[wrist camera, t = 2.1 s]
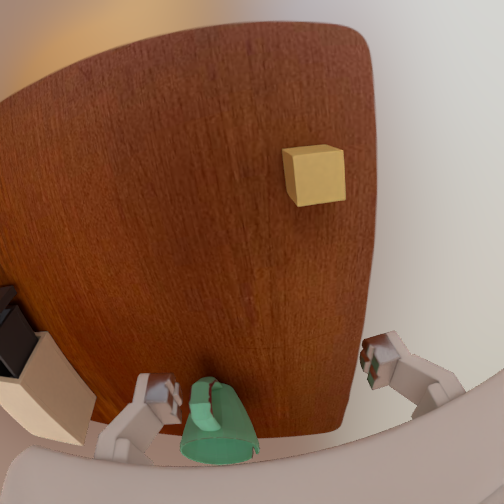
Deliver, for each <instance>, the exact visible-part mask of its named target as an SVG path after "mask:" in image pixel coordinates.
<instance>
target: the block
mask: <svg viewBox="0 0 504 504" xmlns="http://www.w3.org/2000/svg"><path fill="white" fill-rule="evenodd" d="M282 157H283V165H284V173H285V182H286V191H287V194H288V195H289V196H290V198H291V199H292V200H293V201H294V203H295V204H296V205H297V206H298V207H301V206H307V205H314V204H321V203H327V202H334V201H341V200H346V193H345V171H344V155H343V150H340V149H338V148H335V147H332V146H329V145H326V144H323V145H313V146H303V147H294V148H286V149H282Z"/></svg>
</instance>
